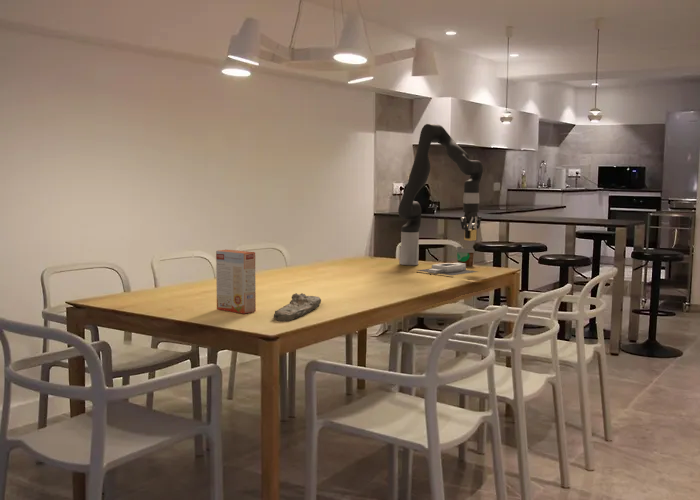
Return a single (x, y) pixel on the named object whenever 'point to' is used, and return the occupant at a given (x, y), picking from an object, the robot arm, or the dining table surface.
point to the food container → (465, 255)
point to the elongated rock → (297, 307)
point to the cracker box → (236, 281)
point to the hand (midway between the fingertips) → (470, 238)
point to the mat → (448, 273)
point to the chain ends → (447, 268)
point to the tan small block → (471, 235)
